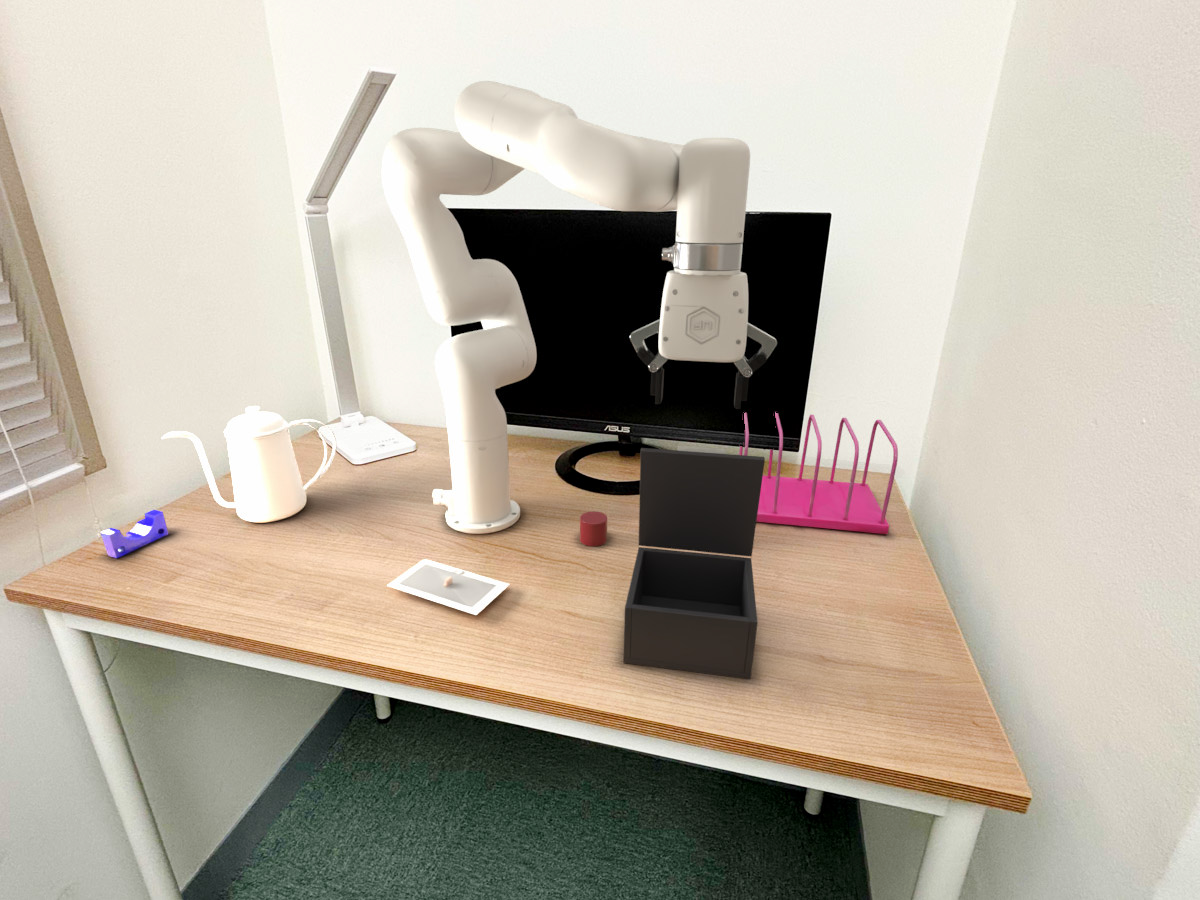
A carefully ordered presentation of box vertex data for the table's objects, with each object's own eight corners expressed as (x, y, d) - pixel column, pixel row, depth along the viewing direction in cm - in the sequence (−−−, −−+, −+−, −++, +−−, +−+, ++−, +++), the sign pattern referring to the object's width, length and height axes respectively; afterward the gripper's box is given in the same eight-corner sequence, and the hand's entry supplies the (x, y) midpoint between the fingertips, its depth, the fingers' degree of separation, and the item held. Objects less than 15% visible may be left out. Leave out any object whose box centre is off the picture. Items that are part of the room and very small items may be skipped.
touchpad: (476, 622, 79) (475, 608, 78) (387, 592, 85) (385, 578, 84) (510, 590, 86) (509, 577, 85) (425, 565, 92) (423, 552, 91)
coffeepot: (180, 521, 103) (151, 414, 96) (332, 481, 119) (317, 387, 112) (193, 546, 96) (163, 433, 89) (353, 501, 111) (338, 401, 104)
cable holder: (153, 530, 100) (147, 508, 99) (168, 534, 99) (162, 511, 98) (101, 553, 94) (93, 530, 92) (116, 558, 92) (109, 534, 91)
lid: (764, 460, 72) (762, 437, 77) (640, 450, 74) (645, 429, 79) (751, 556, 79) (750, 530, 84) (638, 545, 81) (643, 520, 86)
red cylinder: (577, 545, 97) (577, 522, 96) (582, 531, 102) (582, 510, 100) (604, 547, 97) (605, 525, 95) (609, 534, 101) (609, 512, 99)
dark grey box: (750, 679, 70) (757, 622, 67) (623, 663, 72) (624, 607, 69) (745, 608, 82) (751, 557, 80) (636, 596, 85) (638, 546, 82)
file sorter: (888, 536, 101) (906, 447, 96) (732, 521, 106) (741, 434, 100) (866, 492, 117) (881, 413, 111) (732, 480, 121) (739, 404, 116)
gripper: (628, 260, 68) (624, 408, 74) (789, 264, 65) (771, 417, 72) (636, 255, 75) (632, 391, 81) (782, 259, 72) (766, 399, 79)
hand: (697, 403), depth 77 cm, fingers open, 9 cm apart
